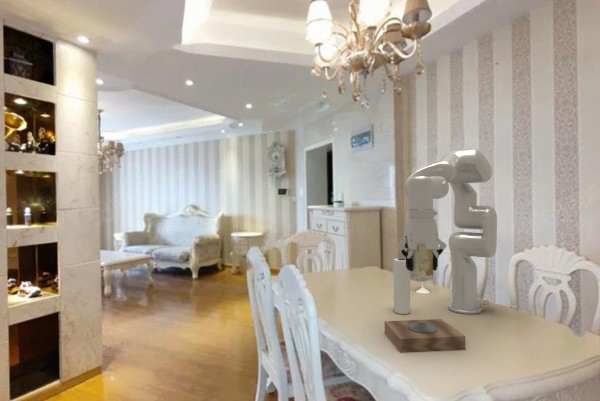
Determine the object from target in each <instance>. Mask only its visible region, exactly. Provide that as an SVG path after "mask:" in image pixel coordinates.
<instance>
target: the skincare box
mask: <svg viewBox="0 0 600 401" xmlns="http://www.w3.org/2000/svg"><path fill="white" fill-rule="evenodd" d="M411 258H412V259H413V271H410V281H414V282H419V283H422V282H423V281H424V282H429V281H434V270H433V252H432V250H427V249H426V246H425V243H418V245H417V250H416V251H414V252H413V254H412V256H411Z"/></svg>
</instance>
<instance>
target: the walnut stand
mask: <svg viewBox="0 0 600 401" xmlns="http://www.w3.org/2000/svg"><path fill="white" fill-rule="evenodd" d="M384 334H385V335H386V336H387V338H388V339H389V340H390V341H391V342H392V344H393V345H394V346H395V347H396V349H398V351H399V352H400V353H411V352H412V353H415V352H438V351H461V350H467V349H466V335H464V334H463V333H461V331H458V329H456V328H455V327H453V326H452V325H450V324H449V323H447V322H446V321H445V320H443V319H441V318H437V319H434V318H433V319H432V318H431V319H430V318H429V319H411V320H410V319H409V320H408V319H405V320H385V321H384Z"/></svg>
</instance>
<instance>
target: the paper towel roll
mask: <svg viewBox="0 0 600 401" xmlns="http://www.w3.org/2000/svg"><path fill="white" fill-rule="evenodd" d="M392 259H393V308H394V313H396V314H399V315H408V314H411V279H410V271H409V270H407V268H406V258H400V257H399V258H397V257H394V258H392Z"/></svg>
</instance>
